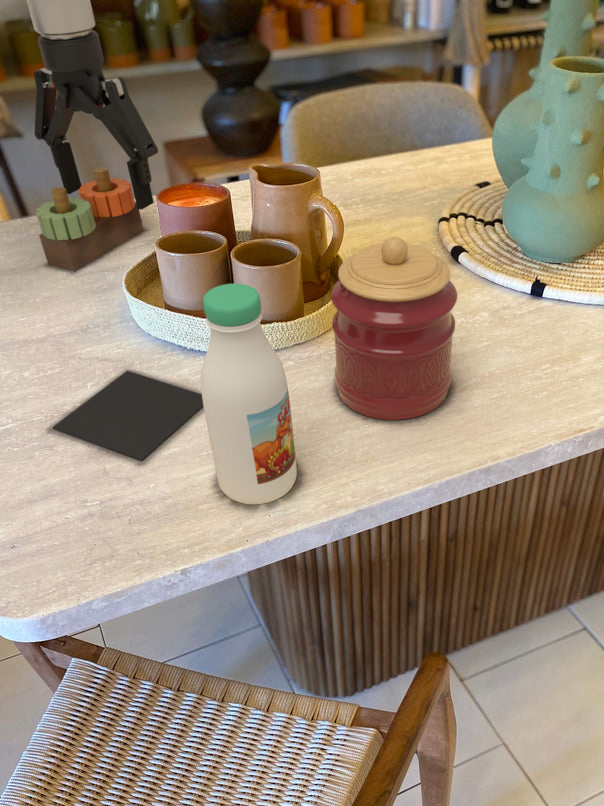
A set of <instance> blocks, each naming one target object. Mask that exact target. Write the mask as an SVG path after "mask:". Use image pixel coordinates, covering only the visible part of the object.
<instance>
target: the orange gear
mask: <svg viewBox="0 0 604 806" xmlns="http://www.w3.org/2000/svg"><path fill="white" fill-rule="evenodd" d="M110 181H111V185H112V189H113V190H112V191H108V192H99V191H98V187H97V183H96V180H95V179H93V180H91V181H87V182H85V183H84V184H82V186H81V187H80V189H79V190H78V194H79V197H80V198H79V199H83V200H86V201H88V202H89V203H90V204H91V208H92V212H93V216H94V217H98V216H99V217H110V216H111V215H112V216H113V217H115V216H119V215H123V213H125V214H126V213H127V212H129V211H131V210H132V209H133V208H134V206H135V202H136V201H135V197H134V192H133V188H132V183H131V182H129V181H128V180H126V179H124V178H119V177H117V178H115V177H110Z"/></svg>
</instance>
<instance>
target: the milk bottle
mask: <svg viewBox="0 0 604 806" xmlns="http://www.w3.org/2000/svg"><path fill="white" fill-rule="evenodd" d="M202 305H203V312H204V316H205V323H206V325H207V326H208V327H209V328H210V335H209V342H208V347H207V351H206V354H205V356H204V359H203V362H202V367H201V372H200V390H201V391H200V392H201V393H200V394H202V399H203V406H204V407H203V411H204V416H205V423H206V428H207V433H208V438H209V443H210V449H211V453H212V458H213V464H214V470H215V474H216V479H217V483H218V486H219V488H220V490H221V491H222V493H223V494H224V495H226V496H227V498H229V499H231V500H232V501H234V502H237V503H240V504H245V505H264V504H267V503H272V502H273V501H277V500H278V499H280V498H282V497H284V496H285V495H286V494H287V493H289V492H290V490H291V489H292V488H293V486H294V484H295V482H296V479H297V474H298V473H297V472H298V471H297V457H296V449H295V438H294V427H293V419H292V410H291V402H290V394H289V393H290V392H289V388H288V381H287V376H286V372H285V369H284V366H283V364H282V361H281V359H280V357H279V355H278V353H277V352H276V351H275V349H274V348H273V346H272V345H271V343H270V342H269V340H268V338H267V337H266V335H265V333H264V329H263V327H262V325H261V321H262V320H263V313H262V303H261V295H260V293H259V291H258V290H257V289H256V288H255V287H253V286H250V285H248V284H243V283H225V284H221V285H218V286H215V287H213V288H211V289H209V290H208V291H207V292H205V294H204V296H203V299H202Z"/></svg>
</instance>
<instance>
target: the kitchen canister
mask: <svg viewBox="0 0 604 806" xmlns="http://www.w3.org/2000/svg"><path fill="white" fill-rule="evenodd" d="M337 274H338V280H337V281H336V282H334V285H333V286H332V288H331V292H330V298H331V299H330V300H331V303H332V305H333V306H334V308H335V310H336V312H335V313H334V316H333V317H332V321H331V325H332V331H333V333H334V349H335V350H334V352H335V366H334V381H335V386H336V388H337V391H338V395H339V398H340V399H341V401H342V402H343V403H344V404H345V405H346V406H347V407H349V408H350V409H351V410H352V411H355V412H356V413H358V414H360V415H363V416H367V417H369V418H373V419H377V420H378V419H379V420H387V421H400V420H408V419H413V418H417V417H421V416H424V415H426V414H428V413H430V412H432V411H434V410H436V409H437V408H438V407H439V406H441V404H443V402H444V401H445V400H446V398H447V396H448V392H449V389H450V386H451V382H452V374H453V373H452V367H451V365H452V363H451V362H452V349H453V336H454V333H455V330H456V320H455V317H454V314H453V313H452V310H453V309H454V307H455V306H456V304H457V301H458V292H457V289H456V286H455V284H453V282H452V281H451V280H450V279H451V269H450V267H449V264H448V263H446V261H444V260H443V259H442V258H441V257H440V256H438V255H435V254H434V253H433V252H431V251H430V250H429V249H427V248H425V247H423V246H419V245H416V244H412V243H407V242H406V241H405V240H404V239H403V238H402V237H399V236H390V237H387V239H385V241H383V242H382V243H376V244H372V245H369V246H366V247H364V248H362V249H360V250H358V251H357V252H356V253H355V254H352V255H351V256H348V258H346V259H345V260H344V261H343V262H342V263H341V264H340V266H339V268H338V273H337Z"/></svg>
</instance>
